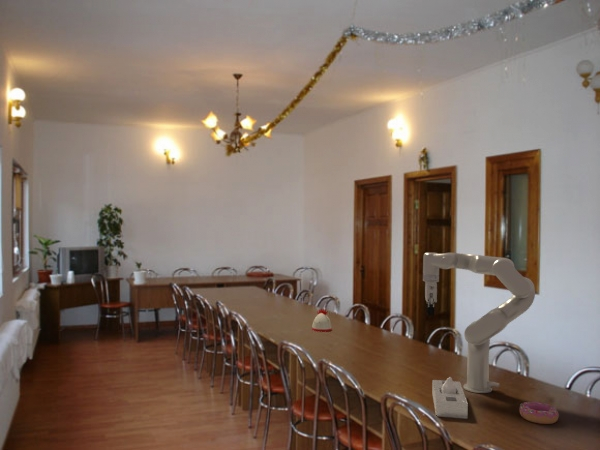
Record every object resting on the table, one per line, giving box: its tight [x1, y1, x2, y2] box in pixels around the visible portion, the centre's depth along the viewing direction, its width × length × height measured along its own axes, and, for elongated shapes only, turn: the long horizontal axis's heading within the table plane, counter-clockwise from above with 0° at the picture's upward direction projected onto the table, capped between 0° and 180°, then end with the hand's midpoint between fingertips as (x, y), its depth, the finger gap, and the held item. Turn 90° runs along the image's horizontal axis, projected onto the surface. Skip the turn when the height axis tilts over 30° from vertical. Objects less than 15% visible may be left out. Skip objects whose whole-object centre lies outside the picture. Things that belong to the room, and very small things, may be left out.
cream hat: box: [311, 308, 333, 333], centre depth 386 cm, size 14×14×15 cm
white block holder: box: [431, 379, 469, 420], centre depth 230 cm, size 12×30×6 cm, turn 169°
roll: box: [442, 376, 456, 394], centre depth 230 cm, size 6×12×6 cm
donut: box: [518, 401, 560, 425], centre depth 216 cm, size 14×14×5 cm
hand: (429, 313), depth 263 cm, fingers open, 9 cm apart
